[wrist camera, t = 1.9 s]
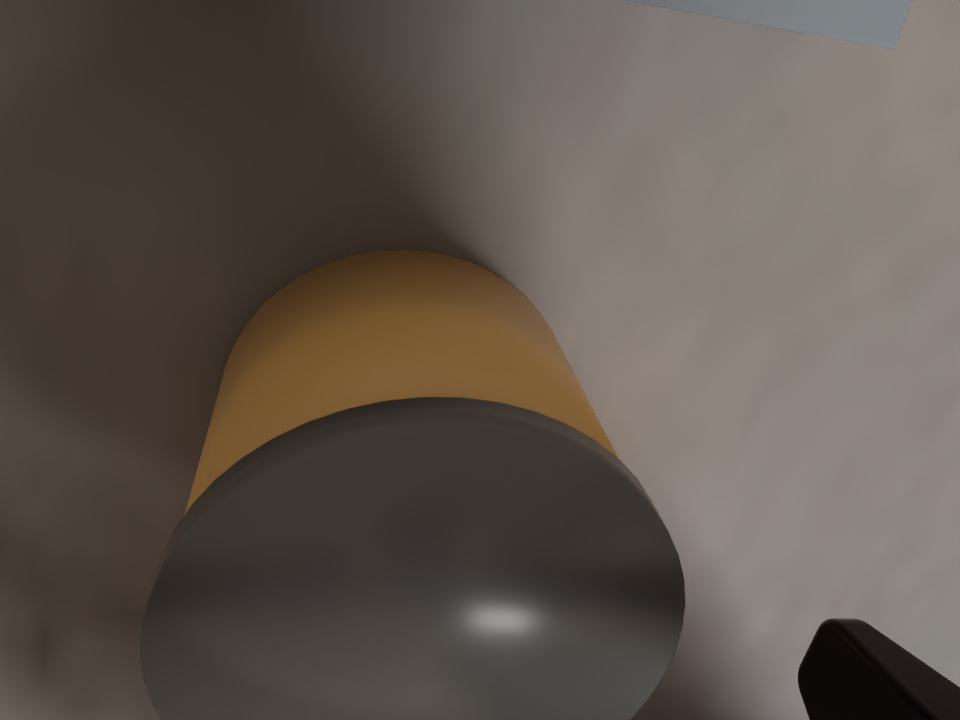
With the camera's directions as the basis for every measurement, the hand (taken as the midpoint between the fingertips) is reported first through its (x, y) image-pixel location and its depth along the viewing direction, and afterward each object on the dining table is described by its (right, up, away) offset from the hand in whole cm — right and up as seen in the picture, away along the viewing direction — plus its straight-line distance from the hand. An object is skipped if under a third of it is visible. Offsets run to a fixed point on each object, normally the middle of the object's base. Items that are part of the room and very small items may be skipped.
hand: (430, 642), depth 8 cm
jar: (-1, +2, +4) cm, 4 cm away
